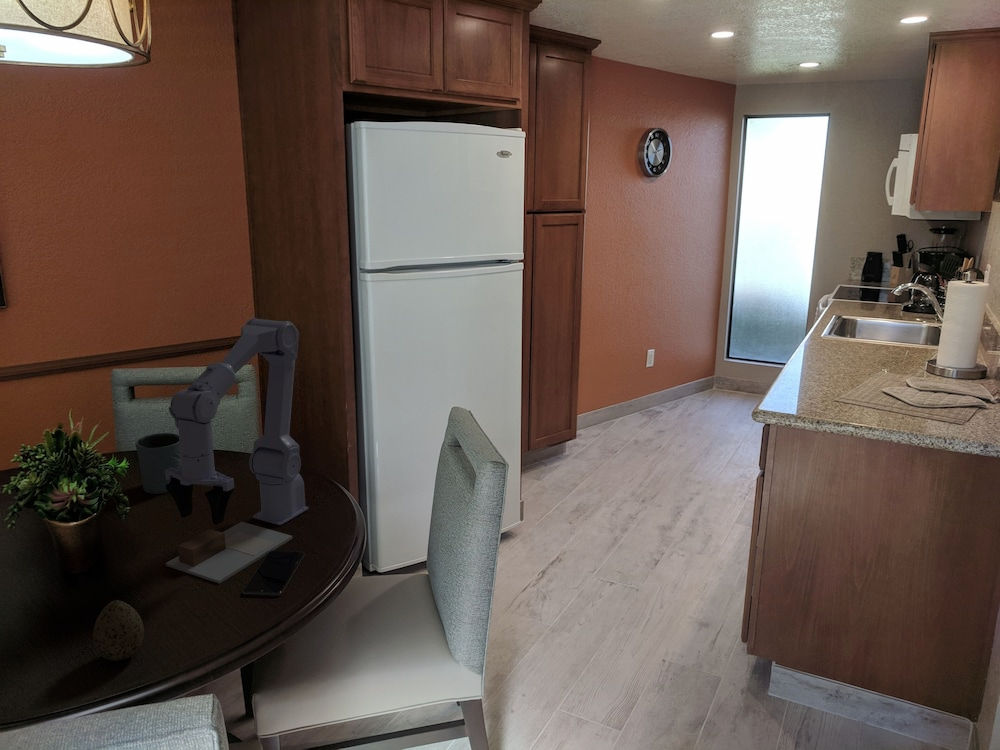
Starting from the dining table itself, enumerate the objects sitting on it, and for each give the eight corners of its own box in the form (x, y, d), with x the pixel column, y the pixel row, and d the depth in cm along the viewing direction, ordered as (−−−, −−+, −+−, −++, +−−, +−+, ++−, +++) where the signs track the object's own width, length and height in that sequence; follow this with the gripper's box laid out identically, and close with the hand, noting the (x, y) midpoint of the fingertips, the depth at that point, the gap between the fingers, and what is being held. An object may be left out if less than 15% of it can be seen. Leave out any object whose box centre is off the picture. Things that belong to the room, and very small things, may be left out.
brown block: (211, 544, 153) (209, 528, 152) (225, 548, 152) (224, 533, 151) (179, 561, 146) (177, 545, 145) (194, 566, 145) (192, 550, 144)
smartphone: (305, 551, 152) (280, 593, 136) (305, 556, 152) (281, 598, 136) (269, 550, 152) (240, 591, 136) (269, 554, 152) (241, 597, 136)
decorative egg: (152, 641, 123) (145, 587, 120) (139, 669, 116) (131, 612, 113) (105, 645, 122) (97, 590, 119) (89, 673, 115) (80, 616, 112)
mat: (242, 524, 163) (241, 521, 163) (292, 538, 158) (292, 535, 157) (166, 565, 146) (165, 562, 146) (219, 583, 140) (219, 580, 140)
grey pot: (153, 477, 187) (148, 432, 184) (193, 478, 186) (189, 433, 183) (132, 494, 177) (126, 446, 174) (175, 496, 177) (169, 448, 173)
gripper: (150, 453, 140) (157, 520, 143) (213, 465, 135) (218, 534, 139) (178, 442, 146) (184, 506, 150) (239, 452, 142) (244, 519, 145)
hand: (202, 519), depth 145 cm, fingers open, 7 cm apart
